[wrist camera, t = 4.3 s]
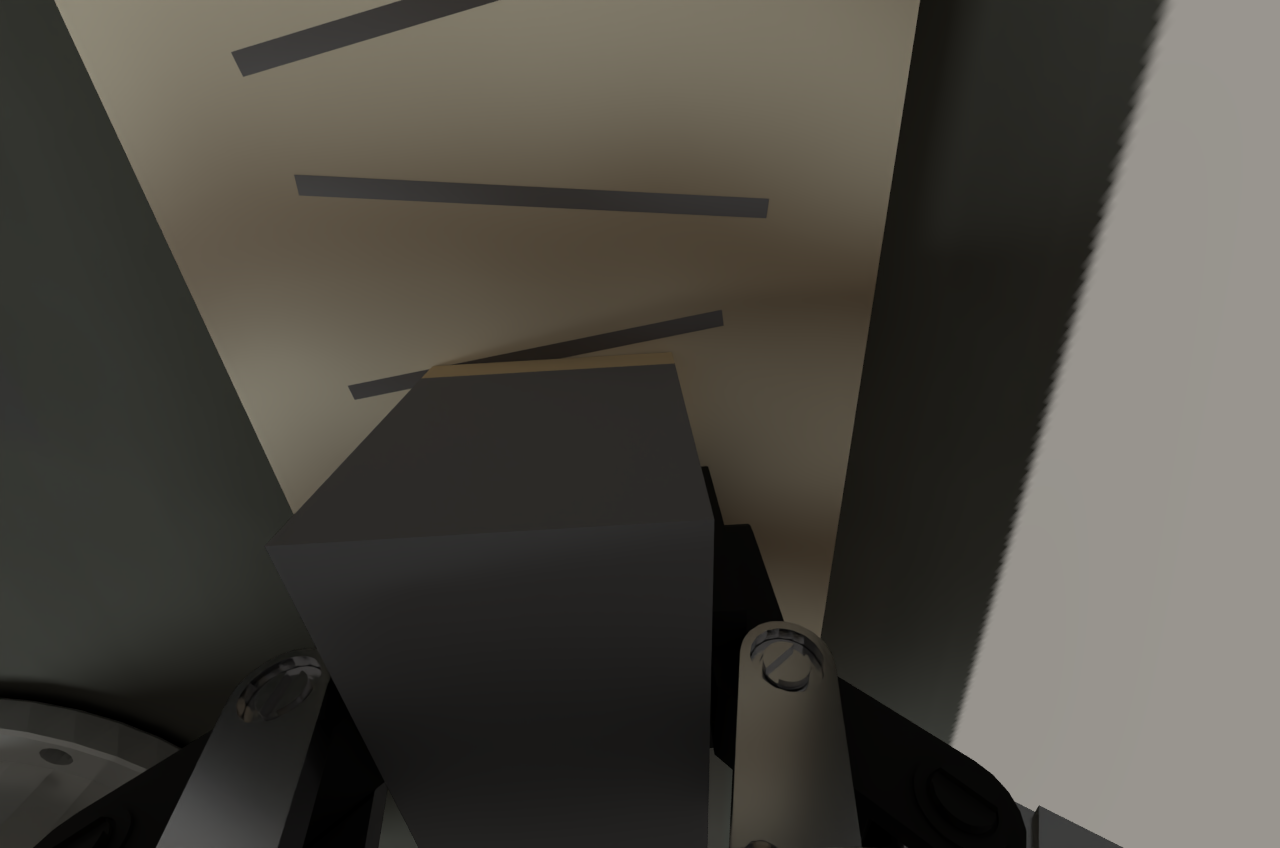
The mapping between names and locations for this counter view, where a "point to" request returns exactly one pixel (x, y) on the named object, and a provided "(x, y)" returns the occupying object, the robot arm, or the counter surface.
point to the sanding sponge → (522, 604)
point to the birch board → (529, 212)
